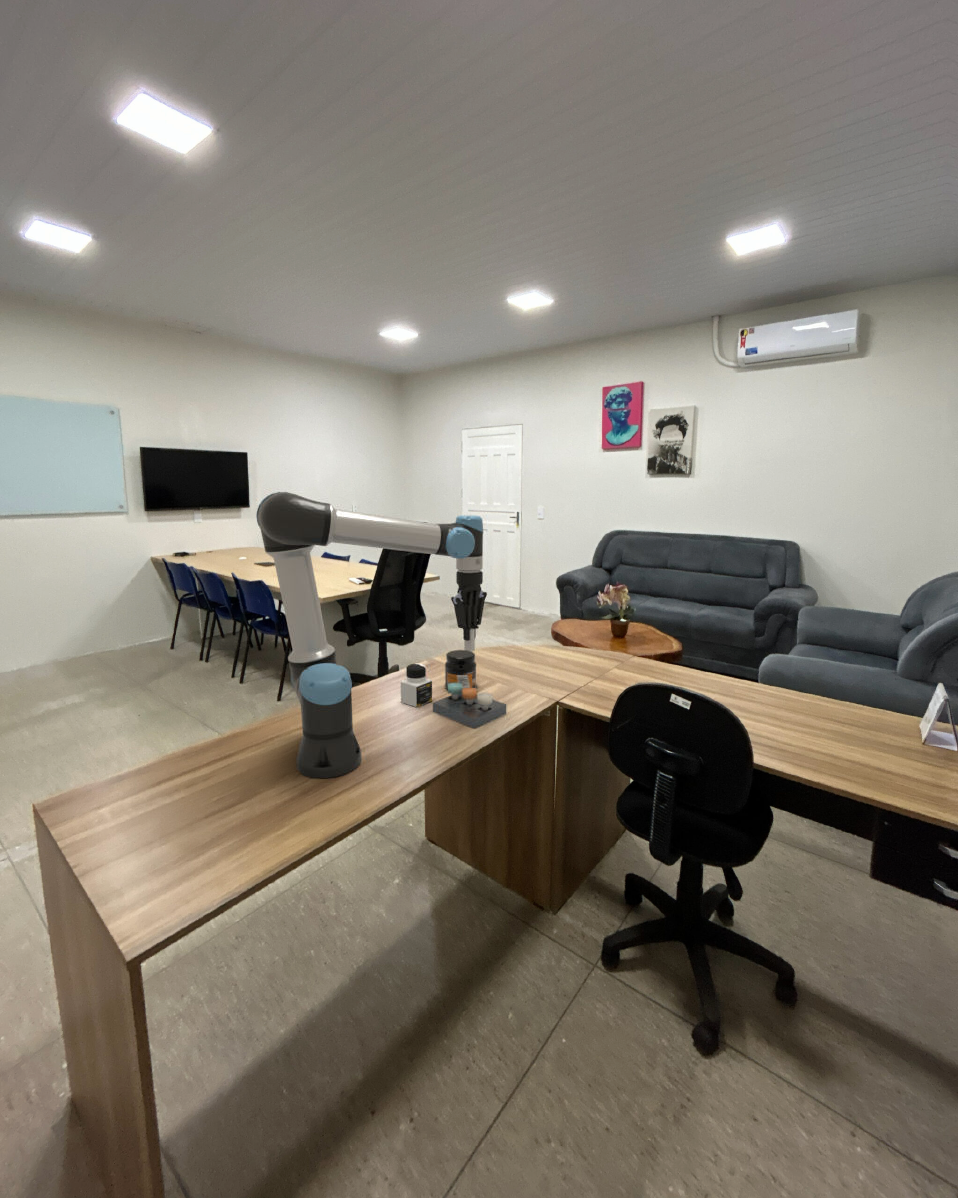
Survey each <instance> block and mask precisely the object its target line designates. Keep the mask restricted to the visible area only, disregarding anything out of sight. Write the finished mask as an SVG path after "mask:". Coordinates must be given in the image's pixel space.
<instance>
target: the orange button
mask: <svg viewBox="0 0 958 1198" xmlns="http://www.w3.org/2000/svg"><path fill="white" fill-rule="evenodd" d="M477 694H478V689H477V688H476V687H475V688H471V687H468V688H464V689H462V697H463V698H464V699H466V705H467V706H472V705H473V699H475V698H477Z"/></svg>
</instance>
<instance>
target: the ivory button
mask: <svg viewBox="0 0 958 1198" xmlns="http://www.w3.org/2000/svg"><path fill="white" fill-rule="evenodd" d="M477 694H478V695H477V702H478V703H479V704H481V711H484V712H487V711H488V705H489V704H491V703H492V699H493V698H494V697H493V694H492V693H490V692H479V693H477ZM493 700H494V699H493Z"/></svg>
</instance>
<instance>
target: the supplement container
mask: <svg viewBox="0 0 958 1198" xmlns="http://www.w3.org/2000/svg"><path fill="white" fill-rule="evenodd" d="M445 656H446V657H445V659H446V661H445V662H444V669H445V671H444V673H445V674H444V675H445V676H444V677H445V679H444V680H445V681H444V682H445V683H444V687H445V688H446V690H448V684H450V683H461V684H462V689H464V688H468V687H471V688H476V686H477V663H476V661H475V660H476V654H475V652H474V651H472V652H470V651H467V650H463V649H456V650H450V651H448V652H447V653H446V655H445Z"/></svg>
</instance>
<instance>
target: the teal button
mask: <svg viewBox="0 0 958 1198" xmlns="http://www.w3.org/2000/svg"><path fill="white" fill-rule="evenodd" d="M447 693H448V694H450V695H452V700H454V701H457V700H458V694H460V693H462V684H461V683H450V684H448V689H447Z"/></svg>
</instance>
